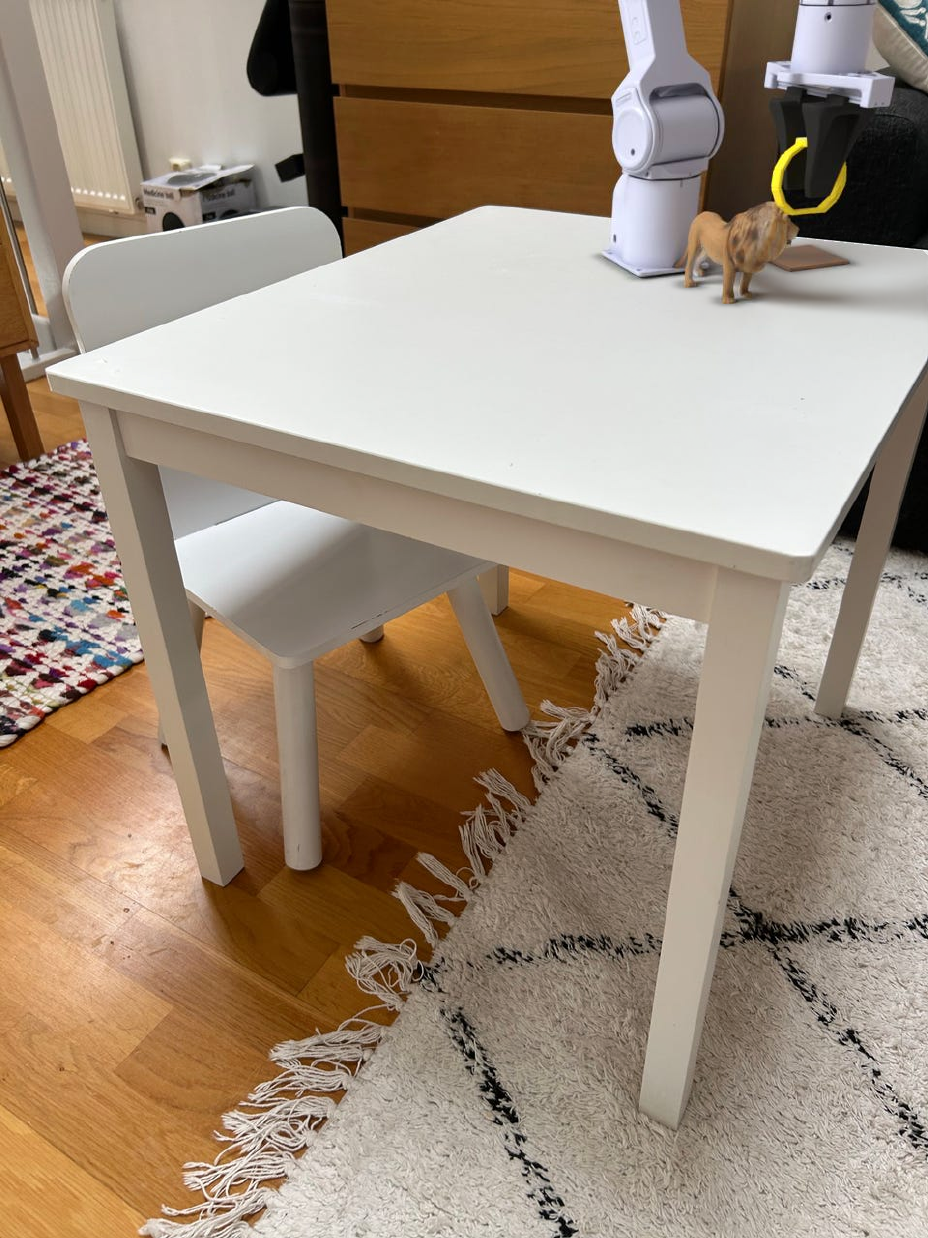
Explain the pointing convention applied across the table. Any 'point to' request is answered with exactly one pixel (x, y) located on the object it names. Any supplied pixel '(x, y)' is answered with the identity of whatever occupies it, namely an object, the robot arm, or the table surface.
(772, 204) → the lion figurine
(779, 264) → the coaster
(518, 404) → the table surface
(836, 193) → the yellow signet ring
